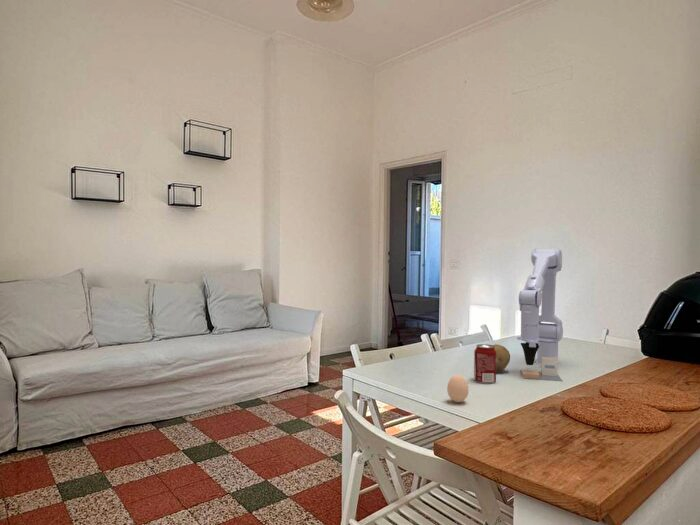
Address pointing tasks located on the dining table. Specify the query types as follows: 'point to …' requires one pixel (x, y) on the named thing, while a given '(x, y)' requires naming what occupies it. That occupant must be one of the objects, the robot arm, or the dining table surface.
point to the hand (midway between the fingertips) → (529, 364)
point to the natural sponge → (501, 357)
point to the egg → (457, 388)
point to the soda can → (485, 364)
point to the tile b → (549, 366)
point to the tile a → (530, 374)
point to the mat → (546, 377)
